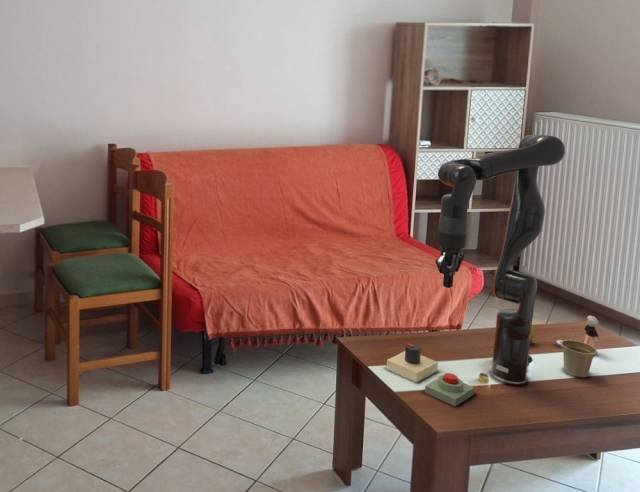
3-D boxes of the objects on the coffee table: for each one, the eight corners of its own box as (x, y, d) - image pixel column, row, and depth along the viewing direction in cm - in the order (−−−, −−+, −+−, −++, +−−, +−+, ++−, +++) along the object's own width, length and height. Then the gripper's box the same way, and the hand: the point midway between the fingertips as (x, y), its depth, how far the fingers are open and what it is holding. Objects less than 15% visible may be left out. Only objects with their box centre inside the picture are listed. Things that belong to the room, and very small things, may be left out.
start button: (447, 377, 201) (447, 371, 200) (459, 382, 198) (460, 376, 198) (441, 381, 198) (441, 375, 198) (453, 386, 196) (453, 380, 195)
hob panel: (407, 358, 219) (407, 349, 219) (437, 371, 212) (438, 361, 211) (386, 369, 212) (386, 359, 212) (416, 382, 204) (417, 372, 204)
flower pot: (596, 373, 213) (599, 346, 212) (591, 384, 206) (594, 356, 205) (561, 362, 219) (564, 337, 218) (555, 372, 212) (558, 346, 211)
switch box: (443, 381, 205) (445, 368, 205) (474, 394, 198) (475, 381, 198) (424, 392, 199) (425, 379, 198) (455, 406, 192) (456, 393, 191)
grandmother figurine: (574, 347, 230) (578, 311, 229) (585, 347, 230) (589, 311, 229) (591, 358, 223) (595, 321, 221) (602, 358, 223) (607, 321, 221)
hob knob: (423, 361, 211) (424, 347, 210) (414, 365, 208) (415, 350, 208) (410, 356, 215) (411, 341, 214) (401, 359, 212) (402, 344, 211)
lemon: (535, 347, 230) (537, 324, 229) (517, 345, 231) (519, 322, 230) (529, 340, 235) (531, 317, 234) (512, 338, 236) (514, 316, 235)
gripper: (453, 237, 194) (448, 295, 196) (476, 229, 202) (471, 286, 204) (428, 230, 200) (423, 287, 202) (451, 223, 208) (446, 278, 210)
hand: (447, 286), depth 203 cm, fingers closed
